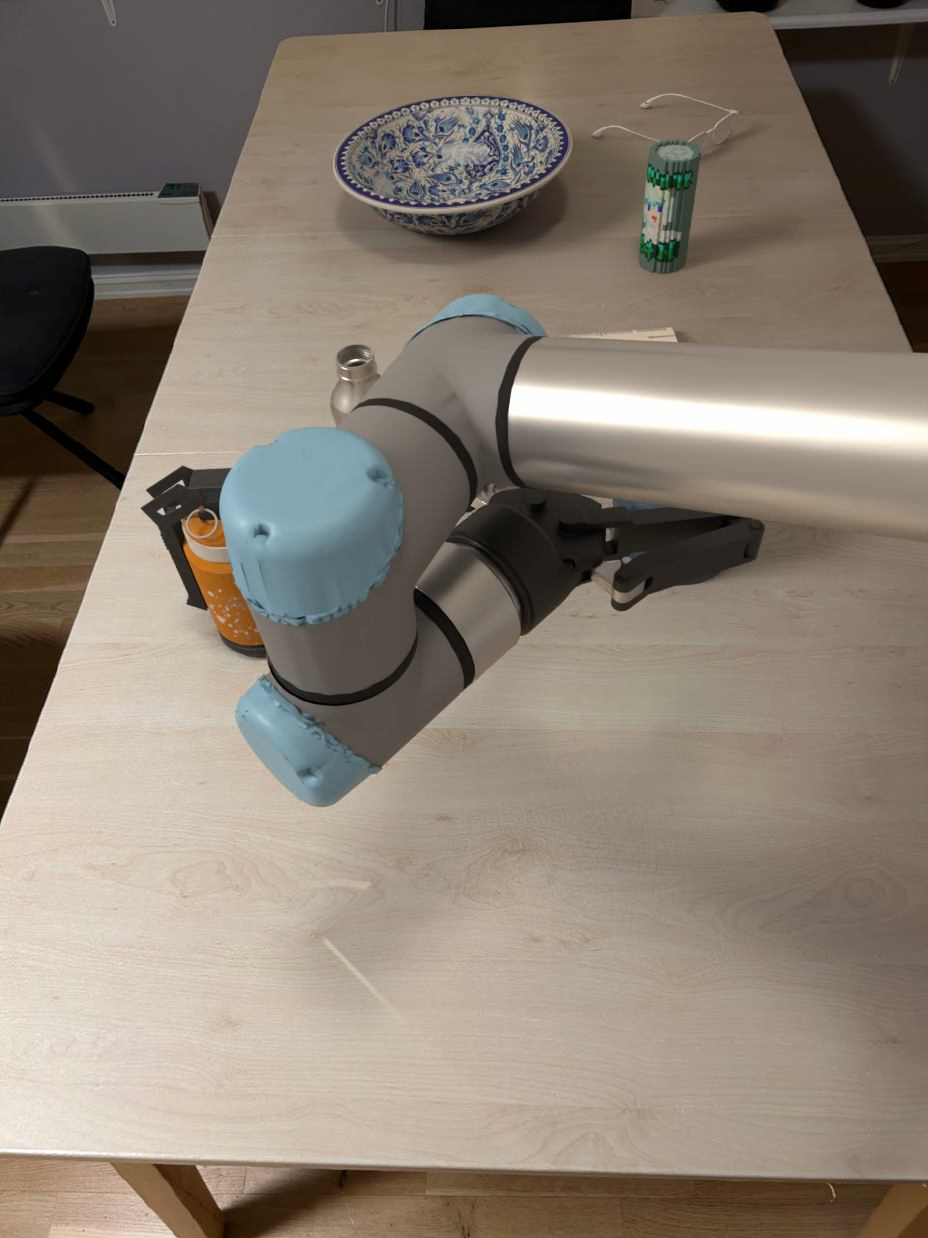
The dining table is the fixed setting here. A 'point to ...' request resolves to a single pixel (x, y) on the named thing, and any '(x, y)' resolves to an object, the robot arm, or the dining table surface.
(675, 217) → the can
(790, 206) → the dining table surface
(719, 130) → the eyeglasses
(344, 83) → the dining table surface
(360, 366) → the metal water bottle
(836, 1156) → the dining table surface
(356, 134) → the ceramic bowl
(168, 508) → the canister
